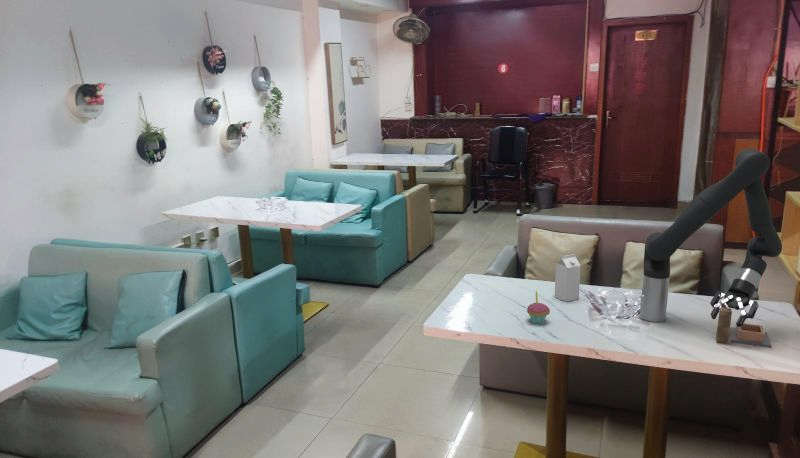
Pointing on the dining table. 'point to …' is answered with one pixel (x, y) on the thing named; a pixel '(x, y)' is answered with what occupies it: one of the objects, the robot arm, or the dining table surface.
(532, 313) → the cupcake
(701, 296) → the dining table surface
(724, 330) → the wooden square peg
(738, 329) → the square peg socket
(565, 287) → the milk carton
